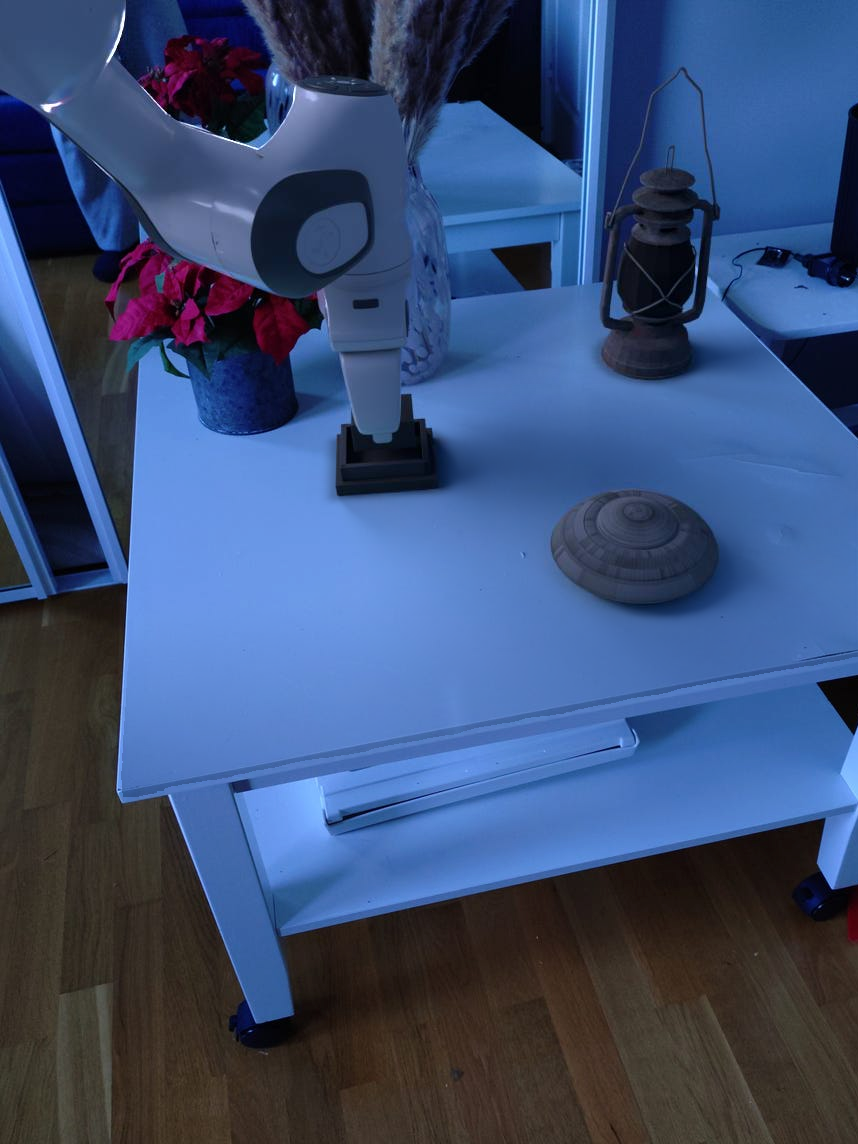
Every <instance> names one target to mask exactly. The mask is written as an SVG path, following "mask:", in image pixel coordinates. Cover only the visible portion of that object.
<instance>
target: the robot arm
mask: <svg viewBox="0 0 858 1144" xmlns="http://www.w3.org/2000/svg"><path fill="white" fill-rule="evenodd" d="M126 6H127V0H0V90H1V91H3V92H5V93H6V94H8V95H10V96H11V97H13V98H15V99H17V100H19V101H20V102H22V103H24V104H25V105H28V106H30V107H31V108H32V109H34V110H35V111H36V112H37V113H38V114H39V115H40V116H42V117H43V118H44V119H45V120H46V121H47V122H48V123H50V124H51V126H53V127H54V128H55V129H56V130H57V131H58V132H59V133H61V134H62V135H63V136H64V137H65V138H66V139H67V140H68V141H69V142H71V143H72V144H73V145H74V146H75V147H76V148H77V149H78V150H79V151H81V152H82V153H83V154H84V155H85V156H86V157H87V158H88V159H90V160H91V161H92V162H93V163H94V164H96V165H97V167H99V168H100V169H101V170H102V171H103V172H104V173H105V174H106V175H107V176H108V177H109V178H110V179H111V180H112V181H113V182H114V183H115V185H116V186H117V187H118V188H119V190H120V191H121V193H122V194H123V195H124V197H125V199H126V200H127V202H128V204H129V206H130V207H131V209H132V211H133V213H134V215H135V217H136V219H137V221H138V223H139V224H140V226H141V228H142V229H143V231H144V232H145V234H146V235H147V236H148V238H149V239H150V241H152V243H153V244H154V245H155V246H156V247H157V248H158V249H159V250H161V251H162V252H164V253H165V254H167V255H168V256H170V257H172V258H175V259H176V260H180V261H183V262H187V263H190V264H194V265H198V266H200V267H205V268H208V269H210V270H212V271H215V272H217V273H220V274H222V275H225V276H227V277H229V278H232V279H233V280H236V281H239V282H241V283H244V284H247V285H249V286H251V287H254V288H256V289H259V290H261V291H265V292H267V293H270V294H273V295H276V296H279V297H283V298H287V299H303V298H307V297H310V296H312V295H314V294H316V296H317V303H318V308H319V311H320V313H321V314H322V316H323V319H324V320H325V323H326V325H327V332H328V333H327V334H328V339H329V344H330V349H331V351H332V352H334V353H335V352H336V353H337V352H338V354H339V360H340V361H339V362H340V366H341V371H342V375H343V379H344V384H345V388H346V393H347V397H348V400H349V404H350V410H351V409H352V413H353V417H354V420H355V423H356V426H357V428H358V430H359V432H360V433H361V434H364V435H372V434H373V440H374V442H376V443H388V442H390V441H391V440H392V433H394V432H396V431H397V430H398V428H399V424H400V412H401V394H402V370H403V369H402V367H403V349H404V348H405V347H407V346H408V344H409V342H408V338H409V334H410V333H409V329H410V323H411V319H412V317H413V314H414V311H415V309H416V307H417V305H418V303H419V291H418V281H417V265H416V253H415V243H414V239H413V235H412V233H411V230H410V227H409V220H408V213H409V208H410V204H411V186H410V173H409V163H408V153H407V148H406V138H405V135H404V134H405V133H404V128H403V123H402V119H401V116H400V112H399V110H398V107H397V106H398V105H397V104H396V101H395V99H394V96H392V94H391V92H389V91H388V90H387V89H386V88H385V87H384V86H383V85H381V84H378V83H377V82H372V81H369V80H366V79H362V78H357V77H352V76H340V75H335V74H334V75H330V74H329V75H325V74H323V75H321V74H320V75H314V76H308V77H305V78H303V79H302V80H299V81H298V82H296V84H295V86H294V90H293V100H292V104H291V107H290V108H289V111H288V112H287V114H286V117H285V118H284V120H283V122H282V123H281V124H280V126H279V128H278V129H277V130H276V131H275V133H274V134H273V135H272V136H271V137H270V139H268V141H267V142H266V143H265V144H263V145H261V147H259V148H257V147H254V146H250V145H247V144H244V143H241V142H237V141H234V140H231V139H228V138H225V137H223V136H222V135H219V134H216V133H214V132H212V131H209V130H207V129H205V128H202V127H199V126H196V125H193V124H190V123H186V122H183V121H178V120H177V119H175V118H174V117H172V116H171V115H170V114H168V113H167V112H166V111H165V110H164V109H163V108H162V107H161V105H160V104H159V103H158V102H157V101H156V100H155V99H154V98H153V97H152V96H151V94H150V93H148V92H147V90H146V89H144V87H143V85H141V84H140V83H139V82H138V81H137V79H135V78H134V76H133V75H132V74H131V73H130V71H128V69H126V68H125V67H124V66H123V64H122V63H121V62H120V61H119V60H118V59H117V58H116V57H115V56H114V53H115V51H116V49H117V46H118V44H119V42H120V38H121V36H122V32H123V29H124V25H125V18H126V8H127V7H126Z"/></svg>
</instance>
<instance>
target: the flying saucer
mask: <svg viewBox="0 0 858 1144" xmlns="http://www.w3.org/2000/svg"><path fill="white" fill-rule="evenodd" d="M550 551H551V556H552V558H553V561H554V563H555V564H556V566H557V567H558V569H559V571H561V573H562V574H563V575H564V576H565V577H566V578H567V579H568V580H570V581H571V582H572V583H573V584H575V585H576V586H578V587H579V588H581V589H583V590H584V591H586V592H588V593H590V594H593V595H595V596H597V597H600V598H603V599H606V600H610V601H614V602H619V603H626V604H635V605H636V604H641V605H643V604H645V605H646V604H659V603H665V602H668V601H669V602H670V601H673V600H676V599H679V598H682V597H685V596H688V595H689V594H691V593H693V592H695V591H696V590H698V589H700V588H701V587H702V586H704V585H705V584H706V583H707V582H708V580H709V579H710V578H711V577H712V576H713V574H714V572H715V571H716V570H717V566H718V563H719V558H720V549H719V543H718V541H717V538H716V536H715V534H714V531H713V529H712V528H711V527H710V526H709V524H708V523H707V522H706V520H705V519H704V517H702V516H701V515H700V514H699V513H698V512H697V511H695V510H694V508H692V507H690V505H688V504H686V503H684V502H683V501H681V500H679V499H677V498H675V497H673V496H671V495H668V494H666V493H662V492H659V491H655V490H650V489H644V488H643V489H642V488H616V489H610V490H606V491H603V492H602V491H601V492H599V493H595V494H593V495H590V496H589V497H586V498H584V499H582V500H581V501H579V502H578V503H576V504H575V505H574V506H572V507H571V508H569V509H568V510H567V511H566V512H565V513H564V514H563V515H562V516H561V518H560V519H559V520H558V521H557V523H556V524H555V526H554V528H553V529H552V533H551V537H550Z"/></svg>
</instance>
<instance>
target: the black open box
mask: <svg viewBox="0 0 858 1144" xmlns="http://www.w3.org/2000/svg"><path fill="white" fill-rule="evenodd" d="M426 422H427V421H426V418H414V430H415V443H416V447H411V448H398V449H384V450H370V451H357V452H355V451H354V444H353V437H352V430H351V423H340V433H337V434H336V444H335V445H336V446H335V448H336V451H335V455H336V456H335V490H336V491H335V492H336V495H337V496H347V495H349V496H350V495H362V494H375V493H388V492H391V493H392V492H403V491H415V490H428V489H431V490H432V489H438V488H439V485H438V473H437V463H436V455H435V453H436V452H435V443H434V433H433V427H427V423H426Z"/></svg>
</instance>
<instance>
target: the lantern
mask: <svg viewBox="0 0 858 1144" xmlns="http://www.w3.org/2000/svg"><path fill="white" fill-rule="evenodd" d="M681 71H682V72H683V75H684V78H685V79H686V80H687V81H688V83H690V84H691V85H692V86H693V87H694V89H696V91H697V92H698V94H699V103H700V115H701V128H702V137H703V138H702V139H703V150H704V154H705V158H706V161H707V165H708V169H709V178H710V184H711V185H710V186H711V194H712V201H713V202H712V203H711V202H709V201H708V200H707V199H705V198H703V199H702V198H699V195H698V192H696V191H694V190H693V189H692V188H691V187H693V186H694V184H695V183H696V181H697V180H696V178H695V176H694V175H693V174H692V173H691V172H688V171H687V170H684V169H681V168H678V167H677V168H675V167H674V160H675V150H676V146H675V145H674V144H673V145H670V146H669V147H668V148H667V150H666V158H665V166H664V167H656V168H652V169H649V170H647V171H645V172H642V174H641V175H639V181H640V183H641V184H642V185H643V186H641V187H638V188H636V189H635V191H634V192H633V193H632V196H631V197H632V201H633V202H634V203H630V204H626V205H622V206H620V207H619V205H620V203H621V199H622V196H623V194H624V191H625V189H626V186H627V183H628V181H629V178H630V175H631V172H632V170H633V168H634V166H635V164H636V162H637V160H638V158H639V155H640V153H641V151H642V149H643V146H644V142H645V137H646V132H647V127H648V122H649V117H650V113H651V110H652V104H653V99H654V97H655V95H657V94H658V93H659V92H660V91H661V90H662V89H664V88H665V87H666V86H667V85H668V84H670V83H671V82H673V80H675V79H676V78H677V77H678V75H679V73H680V72H681ZM703 93H704V92H703V90H702V89H701V87H699V85H698V84H697V83H696V82H695V81H694V80H693V79H692V77H690V76H689V74H688V70H687V69H686V68H685V66H681V67H678V68H677V70H676V72H675V73H674V75H672V76H671V77H670V78H669V79H667V80H666V81H665V82H664V83H662V85H660V86H659V87H658V88H656V89H655V90H654V91H653V92H652V93H651V95H650V98H649V101H648V106H647V111H646V115H645V121H644V124H643V130H642V135H641V139H640V143H639V148H638V150H637V152H636V154H635V156H634V158H633V159H632V162H631V165H630V166H629V169H628V171H627V174H626V176H625V179H624V181H623V184H622V187H621V189H620V193H619V195H618V198H617V201H616V203H615V207H614V209H613V211H612V212H611V211H607V212H606V215H605V219H604V229H605V230H606V231H609V238H608V244H607V253H606V259H605V265H604V266H605V267H604V273H603V281H602V288H601V295H600V301H599V320H600V322H601V325H602V326H603V328H605V329H608V330H610V332H609V334H608V336H607V337H606V338H605V339H604V342H603V346H602V348H601V350H600V351H601V352H600V357H601V360H602V362H603V364H605V366H606V367H608V368H609V369H610V370H611V371H613V372H615V373H617V374H620V375H621V376H624V377H628V378H633V379H638V380H662V379H666V378H667V379H668V378H672V377H675V376H677V375H680V374H682V373H683V372H685V371H687V370H688V369H689V367H690V366H691V365H692V362H693V353H692V348H693V347H692V345H691V342H690V341H689V332H688V328H687V327H686V326H685V324H689V323H692V322H694V321H696V320H699V318H700V317H701V315H702V313H703V311H704V307H705V303H706V297H707V288H708V276H709V266H710V256H711V246H712V235H713V226H714V222H716V221H719V220H720V219H721V207H720V206H719V204H718V202H717V197H716V189H715V180H714V173H713V172H714V171H713V165H712V161H711V158H710V154H709V150H708V145H707V143H708V142H707V131H706V120H705V107H704V95H703ZM670 150H672V152H671V159H670V160H671V161H670V167H668V165H669V156H670ZM694 210H700V211H702V212H703V213H702V214H703V215H702V216H703V217H702V227H701V236H700V246H699V255H697V254H698V252H697V250H696V246H694V244H692V242H691V236H692V231H691V228H690V227H689V226H687V225H688V224H690V223H691V222H693V219H694V217H695V211H694ZM632 215H633V219H634V220H635V222H636V221H637V223H635V224H634V226H633V227H631V235H630V237H629V239H628V241H626V242H624V243H623V246H624V247H623V250H622V251H621V253H620V257H619V263H618V267H617V272H616V266H617V257H618V250H619V243H620V235H621V228H622V223H623V220H625V219H626V218H627V217H629V216H632ZM697 256H698V262H697ZM696 263H698V264H696ZM696 265H697V266H696ZM696 267H697V273H696ZM615 273H617V274H616V285H615V286H616V293H617V295H618V297H619V298H620V301H621V302H622V303H621V307H622V309H623V310H624V312H625V313H627V314H628V315H626V316H622V317H620V318H619V319H617V318H614V317H611V306H612V298H613V297H612V296H613V290H614V283H615V282H614V281H615ZM695 280H696V281H695ZM694 286H695V289H694ZM694 290H695V291H694ZM693 293H694V298H693V302H692V307H691V308H690V309H688V310H686V311H684V312H683V310H684V305H685V304H686V303H687V302H688V300H689V299H690V297H691V296H692V295H693Z"/></svg>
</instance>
